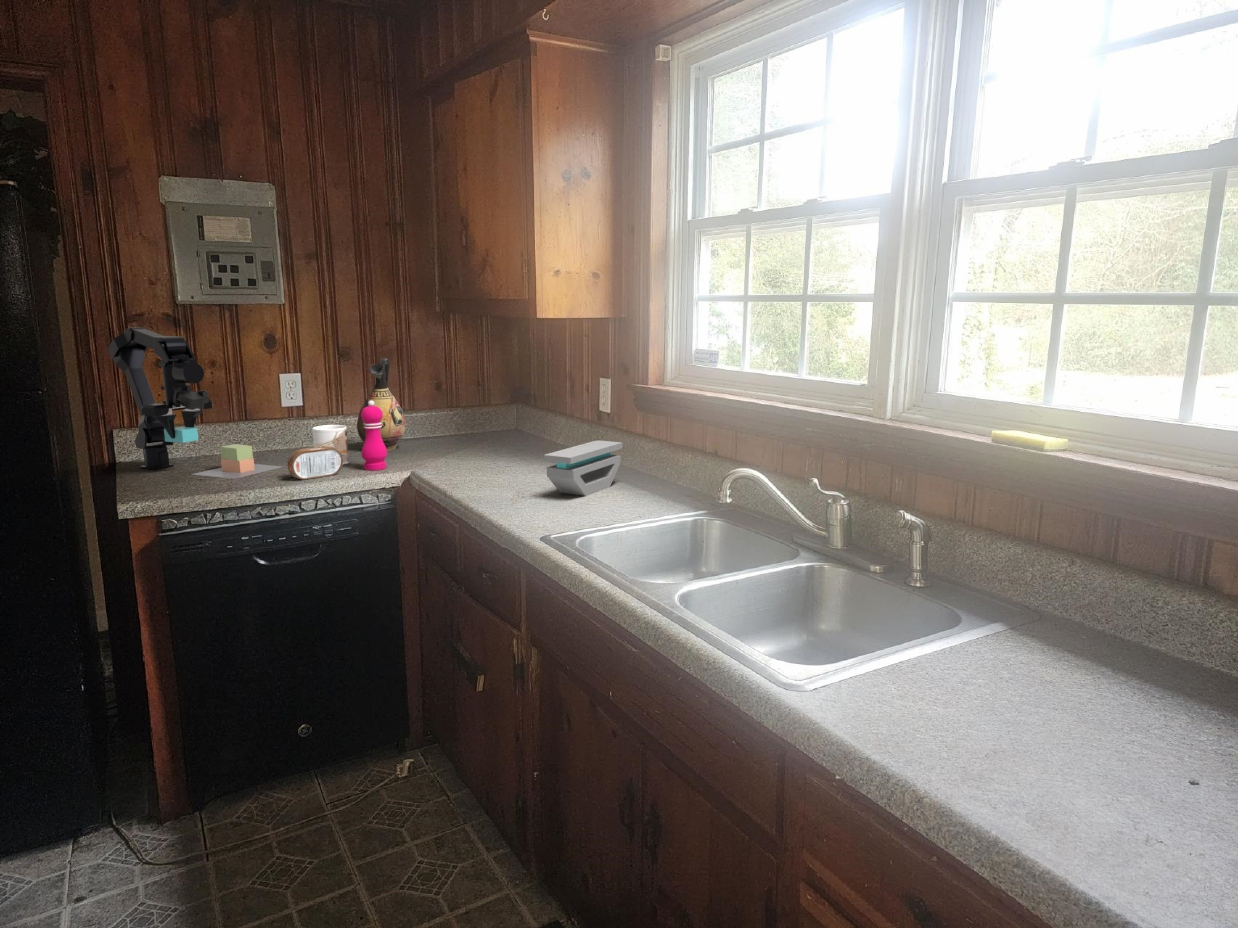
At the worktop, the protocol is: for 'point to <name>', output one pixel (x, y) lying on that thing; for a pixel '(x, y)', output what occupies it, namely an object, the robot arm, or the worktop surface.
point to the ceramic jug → (384, 408)
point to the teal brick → (182, 435)
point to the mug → (332, 438)
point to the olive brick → (236, 452)
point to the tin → (315, 462)
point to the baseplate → (233, 475)
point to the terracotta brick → (237, 465)
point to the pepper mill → (373, 438)
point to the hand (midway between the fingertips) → (181, 437)
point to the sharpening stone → (584, 467)
